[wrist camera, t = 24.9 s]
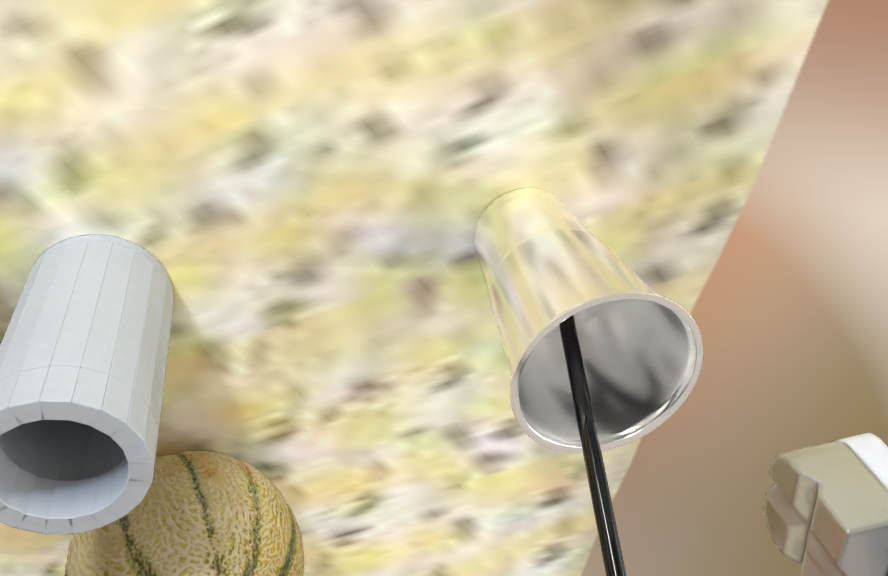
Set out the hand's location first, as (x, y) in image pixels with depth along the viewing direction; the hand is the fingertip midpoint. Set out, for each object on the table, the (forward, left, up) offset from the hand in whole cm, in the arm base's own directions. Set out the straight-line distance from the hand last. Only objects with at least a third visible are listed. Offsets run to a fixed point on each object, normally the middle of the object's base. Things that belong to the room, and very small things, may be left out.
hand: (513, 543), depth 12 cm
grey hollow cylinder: (+16, -16, -37) cm, 43 cm away
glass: (+18, +10, -37) cm, 43 cm away
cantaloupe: (+33, -15, -37) cm, 52 cm away
